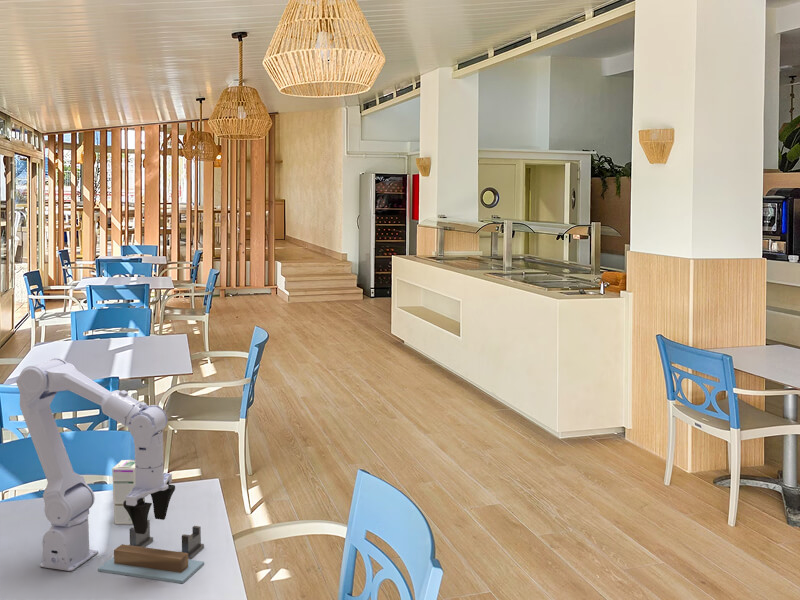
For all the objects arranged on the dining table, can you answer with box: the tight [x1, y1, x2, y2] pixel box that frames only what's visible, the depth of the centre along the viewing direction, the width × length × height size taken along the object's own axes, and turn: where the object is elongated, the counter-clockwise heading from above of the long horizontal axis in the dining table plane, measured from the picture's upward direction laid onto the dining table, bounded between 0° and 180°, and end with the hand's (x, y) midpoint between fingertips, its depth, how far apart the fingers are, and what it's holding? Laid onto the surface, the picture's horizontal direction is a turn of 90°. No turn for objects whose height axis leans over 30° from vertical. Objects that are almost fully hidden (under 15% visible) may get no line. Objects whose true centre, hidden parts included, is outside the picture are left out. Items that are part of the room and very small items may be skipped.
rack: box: [129, 519, 205, 560], centre depth 175 cm, size 6×16×5 cm, turn 76°
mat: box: [97, 556, 205, 584], centre depth 166 cm, size 9×20×1 cm, turn 76°
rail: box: [113, 544, 188, 573], centre depth 165 cm, size 3×16×3 cm, turn 76°
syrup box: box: [111, 459, 146, 526], centre depth 190 cm, size 6×6×14 cm
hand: (150, 525), depth 165 cm, fingers open, 7 cm apart
